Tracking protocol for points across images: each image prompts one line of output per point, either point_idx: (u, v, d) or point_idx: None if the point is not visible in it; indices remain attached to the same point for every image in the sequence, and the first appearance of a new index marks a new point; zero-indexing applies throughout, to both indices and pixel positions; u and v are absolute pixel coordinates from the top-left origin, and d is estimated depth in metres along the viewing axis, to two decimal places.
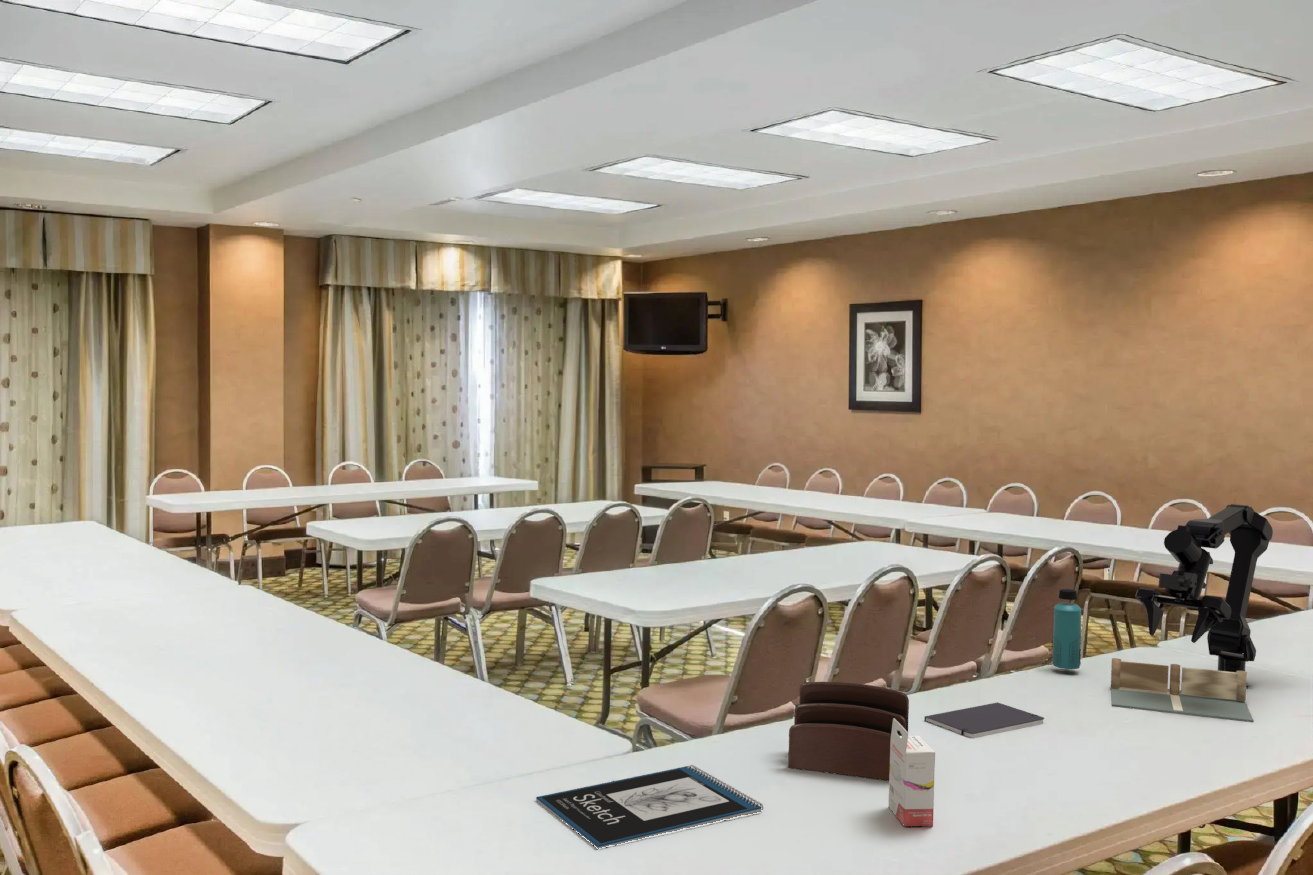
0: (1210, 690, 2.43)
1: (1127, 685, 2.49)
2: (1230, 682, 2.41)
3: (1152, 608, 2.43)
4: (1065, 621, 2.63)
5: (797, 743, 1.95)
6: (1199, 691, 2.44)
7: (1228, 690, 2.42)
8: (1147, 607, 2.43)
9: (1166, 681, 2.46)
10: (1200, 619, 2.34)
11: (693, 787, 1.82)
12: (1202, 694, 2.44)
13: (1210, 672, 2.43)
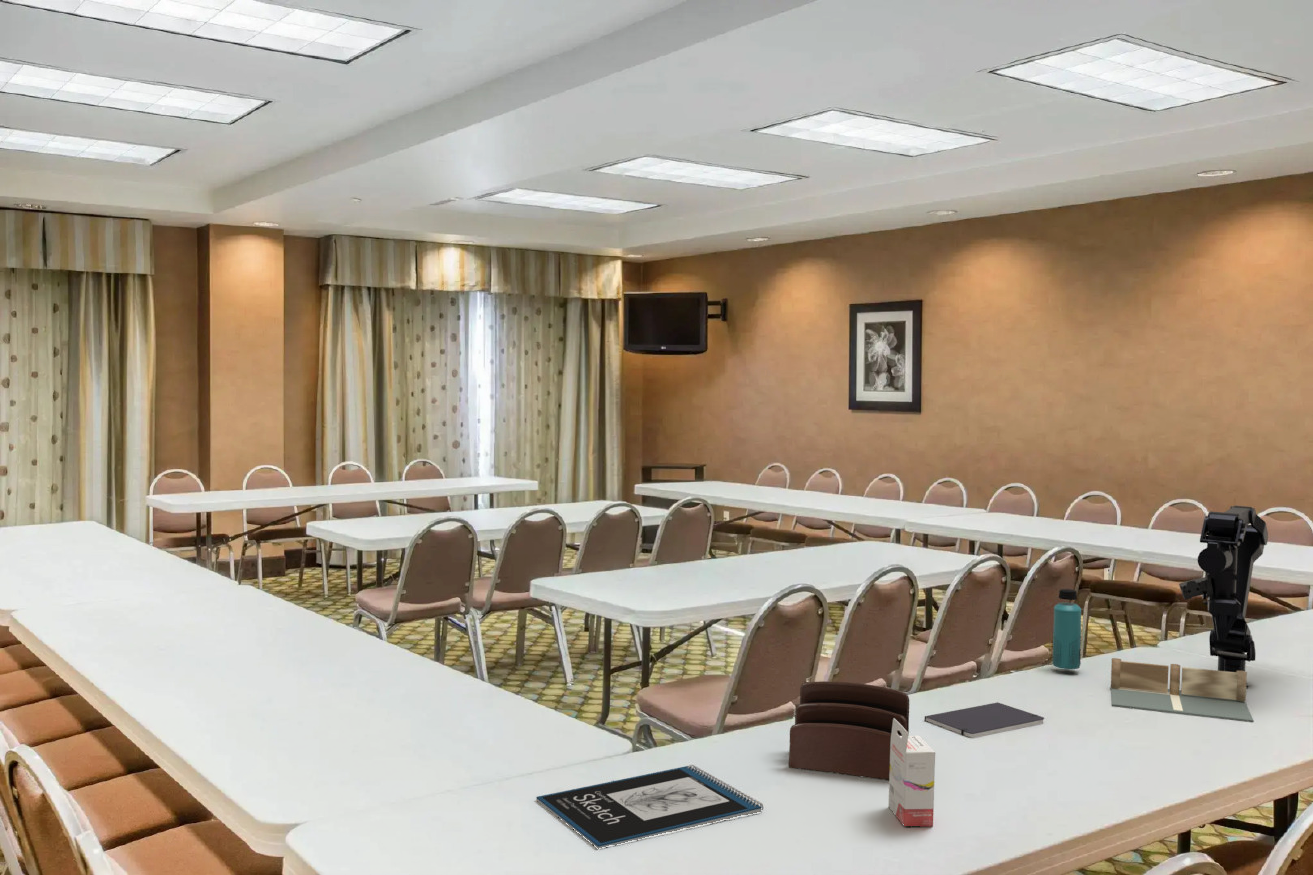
0: (1210, 690, 2.43)
1: (1127, 685, 2.49)
2: (1230, 682, 2.41)
3: None
4: (1065, 621, 2.63)
5: (798, 742, 1.95)
6: (1199, 691, 2.44)
7: (1228, 690, 2.42)
8: None
9: (1166, 681, 2.46)
10: (1215, 619, 2.43)
11: (693, 787, 1.82)
12: (1202, 694, 2.44)
13: (1210, 672, 2.43)
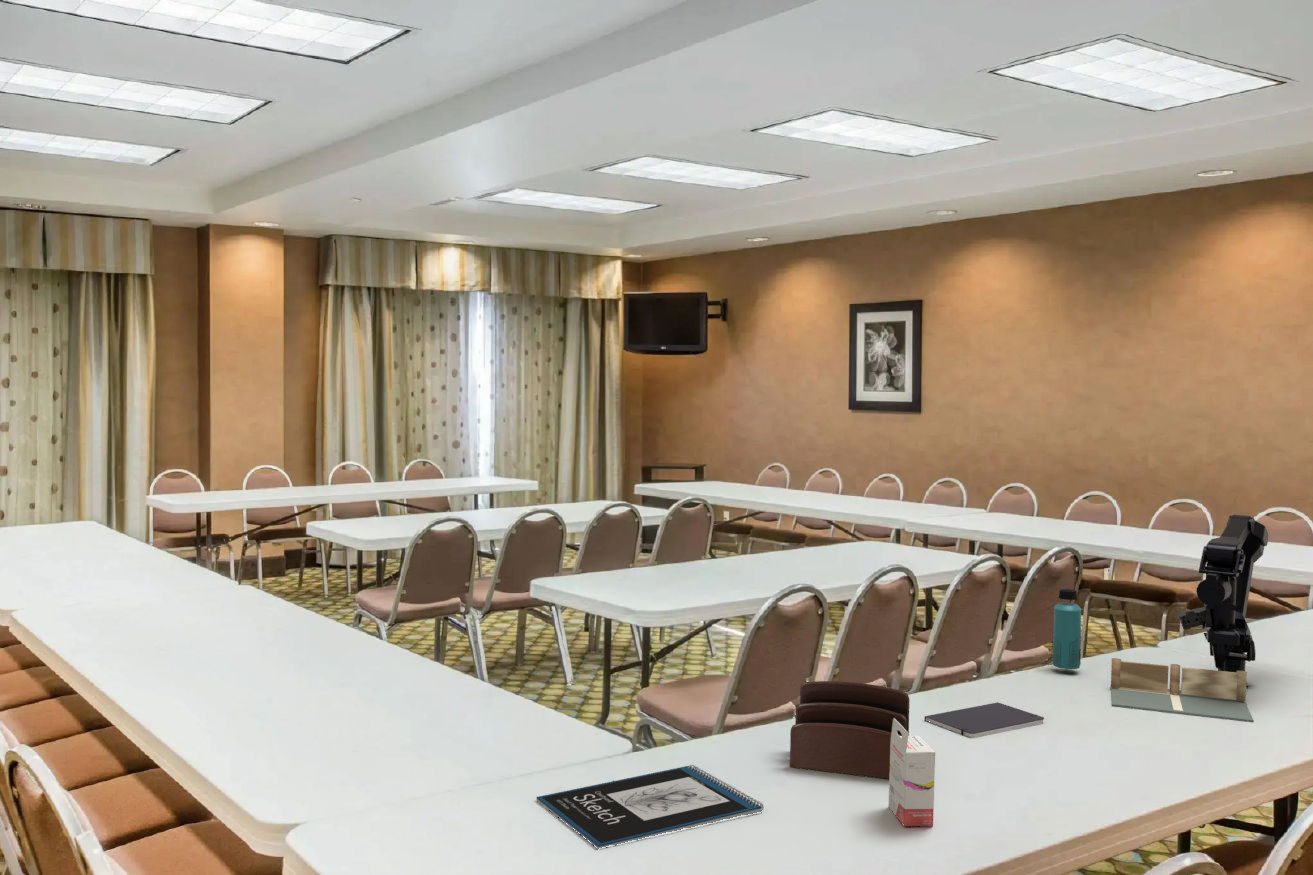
0: (1210, 690, 2.43)
1: (1127, 685, 2.49)
2: (1230, 682, 2.41)
3: None
4: (1065, 621, 2.63)
5: (799, 742, 1.95)
6: (1199, 691, 2.44)
7: (1228, 690, 2.42)
8: None
9: (1166, 681, 2.46)
10: (1212, 647, 2.47)
11: (693, 787, 1.82)
12: (1202, 694, 2.44)
13: (1210, 672, 2.43)
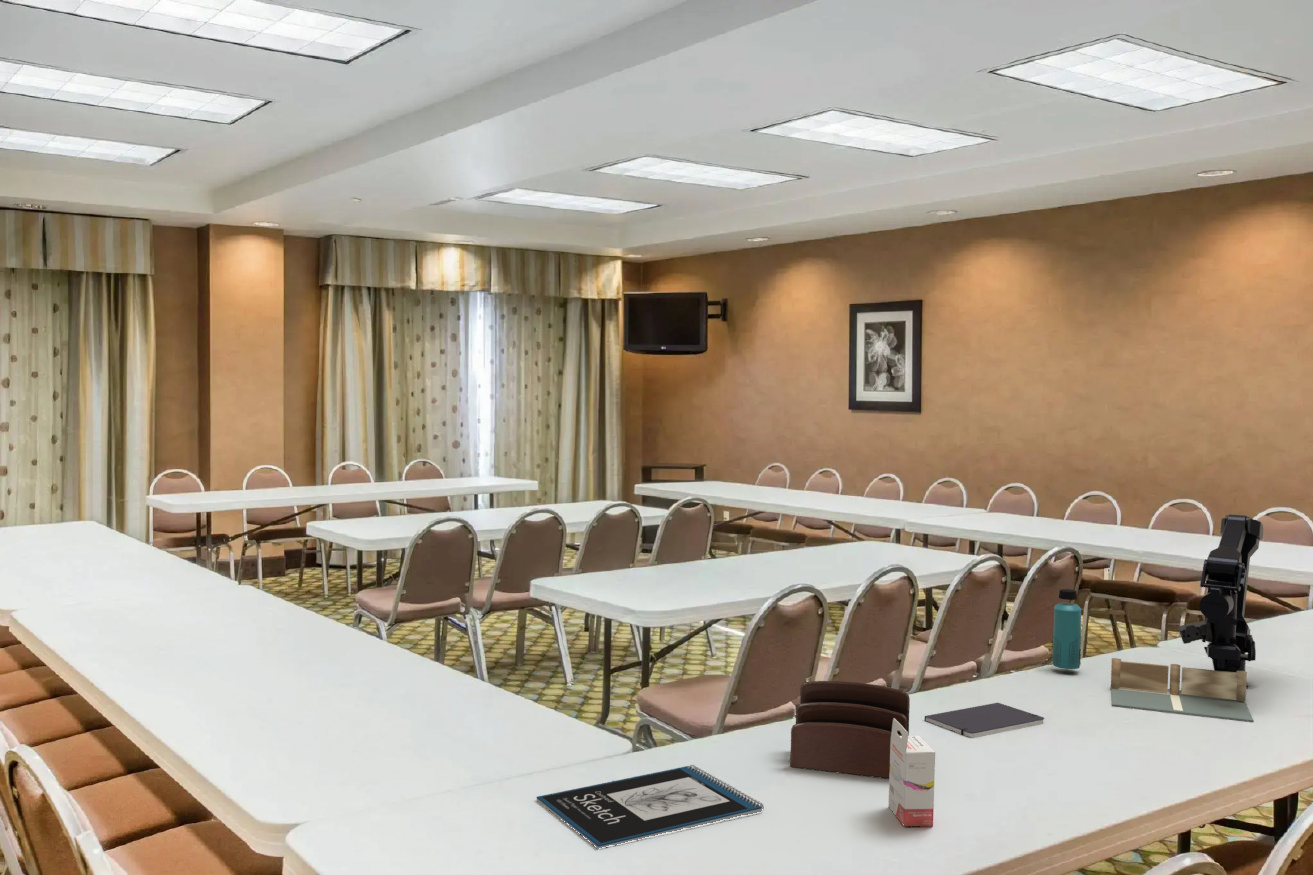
0: (1210, 690, 2.43)
1: (1127, 685, 2.49)
2: (1230, 682, 2.41)
3: None
4: (1065, 621, 2.63)
5: (799, 742, 1.95)
6: (1199, 691, 2.44)
7: (1228, 690, 2.42)
8: None
9: (1166, 681, 2.46)
10: (1212, 661, 2.44)
11: (694, 787, 1.82)
12: (1202, 694, 2.44)
13: (1210, 672, 2.43)
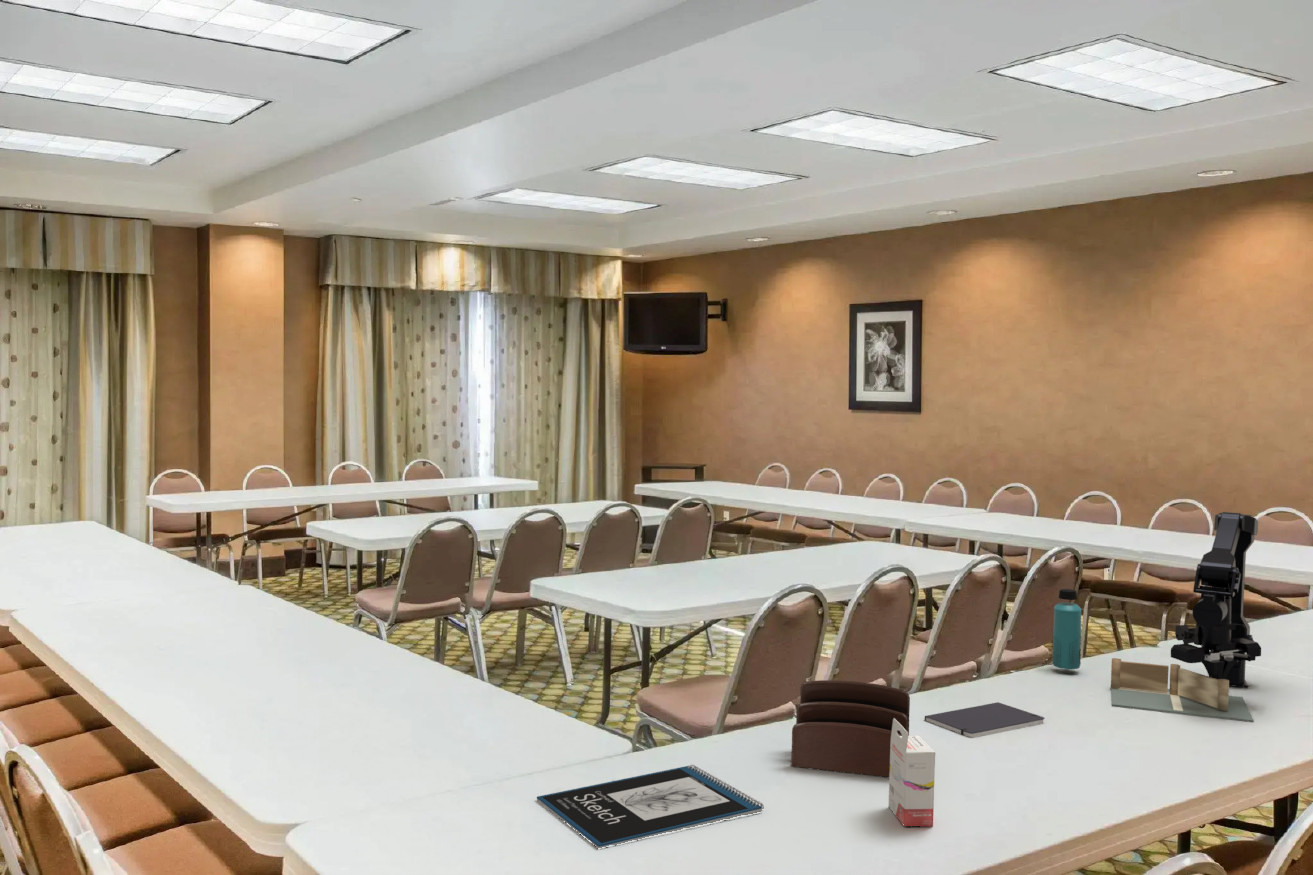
0: (1198, 694, 2.39)
1: (1127, 685, 2.49)
2: (1213, 689, 2.36)
3: None
4: (1065, 621, 2.63)
5: (800, 742, 1.96)
6: (1190, 694, 2.41)
7: (1211, 697, 2.36)
8: None
9: (1166, 681, 2.46)
10: None
11: (694, 787, 1.82)
12: (1192, 697, 2.41)
13: (1198, 676, 2.39)
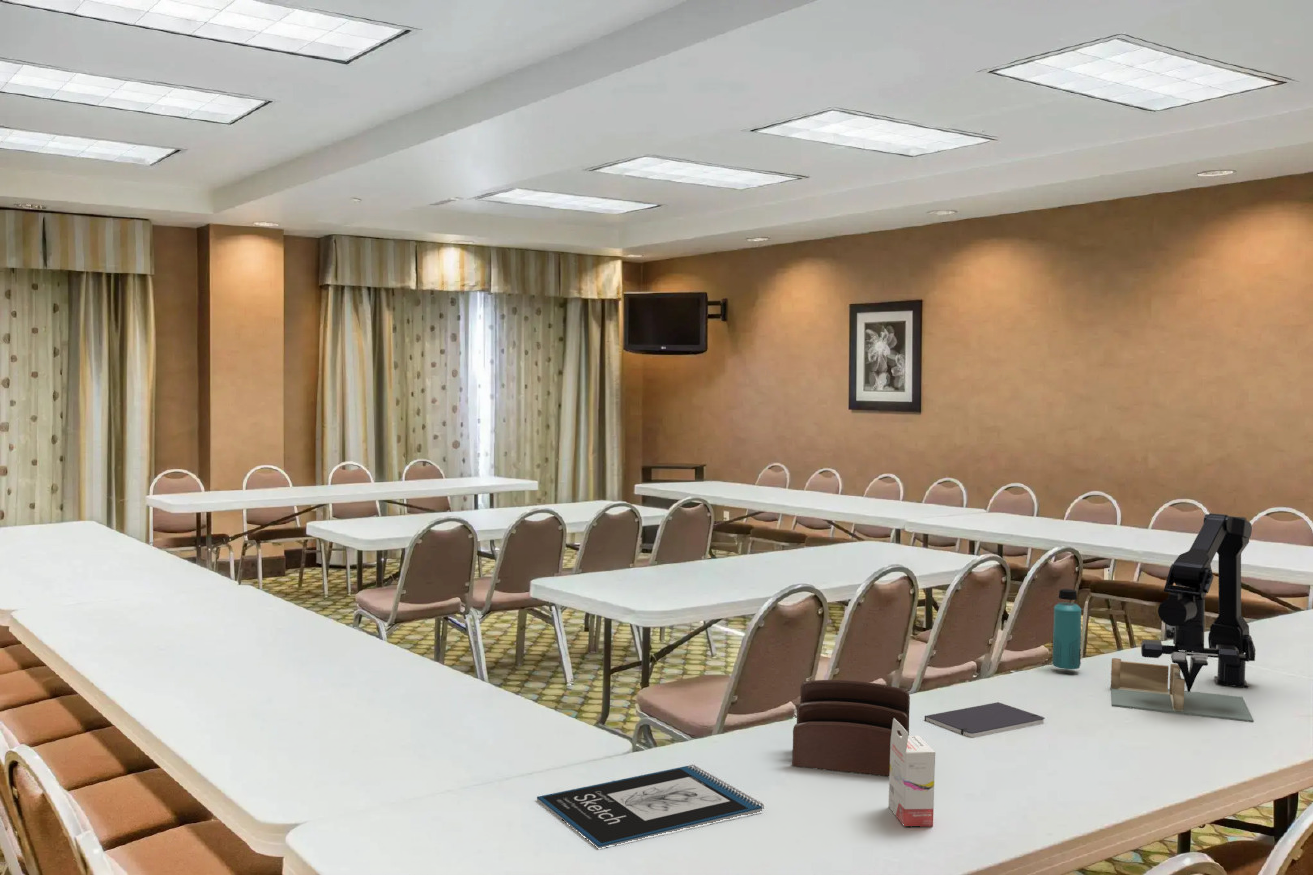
0: None
1: (1127, 685, 2.49)
2: None
3: None
4: (1065, 621, 2.63)
5: (801, 741, 1.96)
6: (1173, 694, 2.42)
7: None
8: None
9: (1166, 681, 2.46)
10: None
11: (694, 787, 1.82)
12: (1173, 697, 2.41)
13: (1174, 675, 2.40)
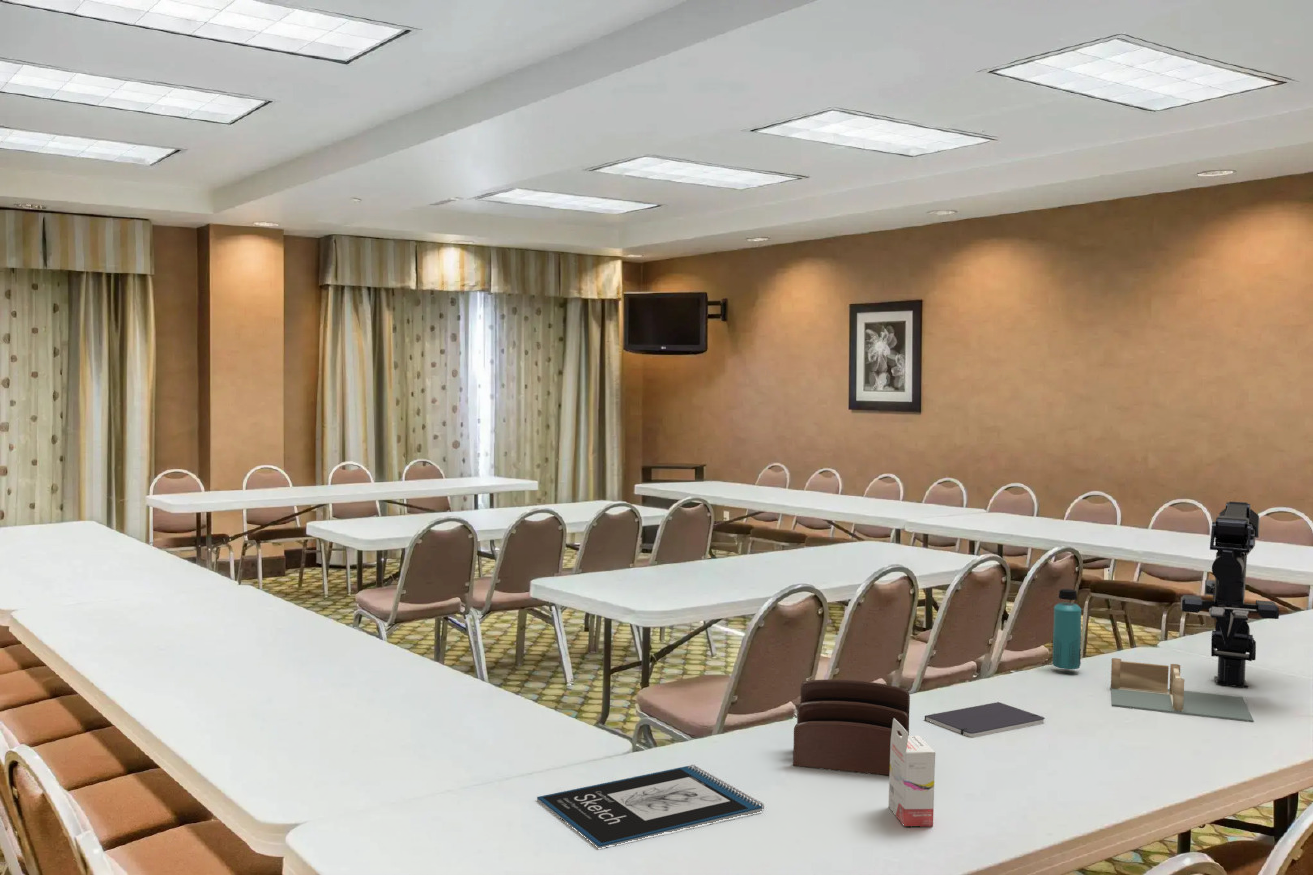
0: None
1: (1127, 685, 2.49)
2: None
3: None
4: (1065, 621, 2.63)
5: (802, 741, 1.96)
6: None
7: None
8: None
9: (1166, 681, 2.46)
10: None
11: (694, 787, 1.83)
12: None
13: (1174, 675, 2.40)
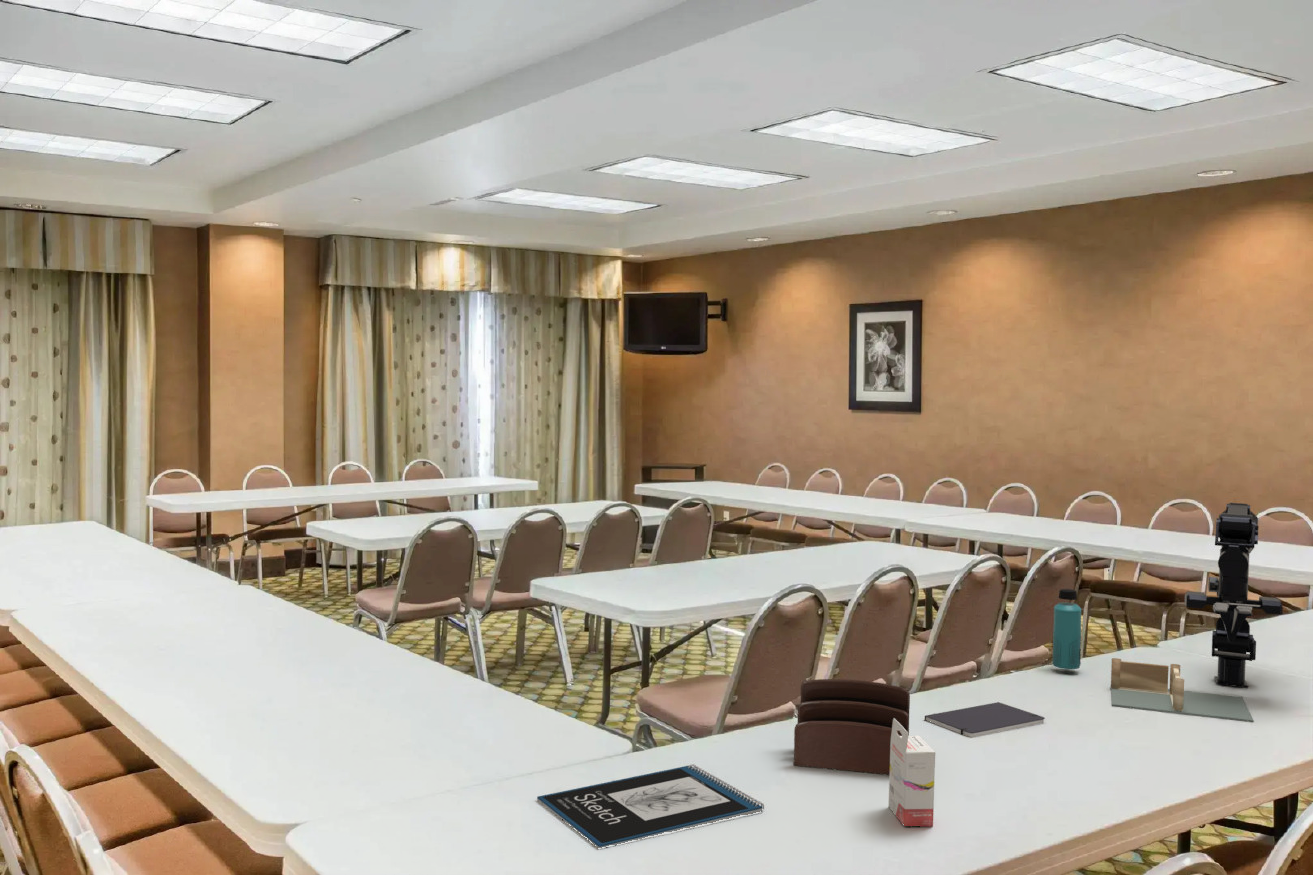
0: None
1: (1127, 685, 2.49)
2: None
3: None
4: (1065, 621, 2.63)
5: (803, 741, 1.96)
6: None
7: None
8: None
9: (1166, 681, 2.46)
10: None
11: (694, 787, 1.83)
12: None
13: (1174, 675, 2.40)
